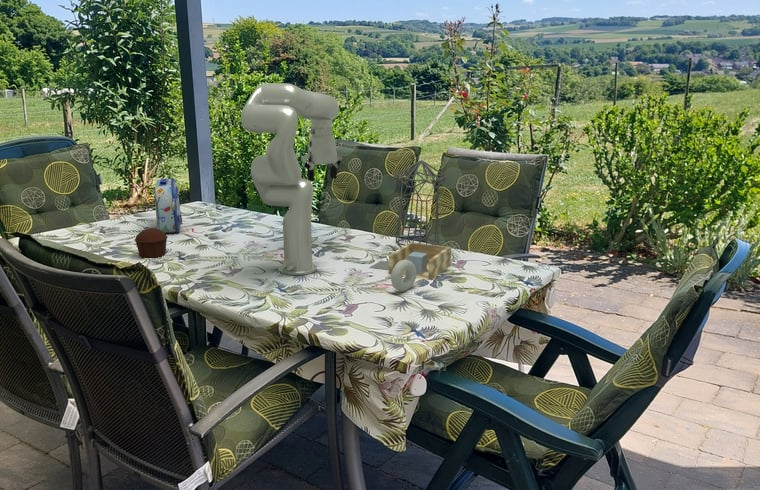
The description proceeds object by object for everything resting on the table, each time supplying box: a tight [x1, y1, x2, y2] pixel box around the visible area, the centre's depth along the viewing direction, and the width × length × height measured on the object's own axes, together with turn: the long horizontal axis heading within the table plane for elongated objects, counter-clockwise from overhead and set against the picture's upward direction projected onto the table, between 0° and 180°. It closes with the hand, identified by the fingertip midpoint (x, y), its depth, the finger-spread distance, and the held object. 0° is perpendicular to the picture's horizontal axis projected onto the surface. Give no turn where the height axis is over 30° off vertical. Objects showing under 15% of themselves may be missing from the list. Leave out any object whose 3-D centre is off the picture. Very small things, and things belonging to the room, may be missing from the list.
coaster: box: [369, 260, 389, 271], centre depth 231 cm, size 9×9×1 cm
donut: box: [390, 260, 417, 293], centre depth 206 cm, size 10×4×10 cm, turn 135°
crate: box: [388, 241, 452, 281], centre depth 227 cm, size 19×15×7 cm
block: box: [408, 252, 427, 275], centre depth 224 cm, size 5×5×6 cm
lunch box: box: [154, 178, 183, 234], centre depth 282 cm, size 28×10×22 cm, turn 17°
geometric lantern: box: [393, 160, 448, 249], centre depth 243 cm, size 16×16×35 cm
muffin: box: [134, 227, 169, 259], centre depth 244 cm, size 12×11×10 cm
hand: (322, 179), depth 247 cm, fingers open, 9 cm apart
